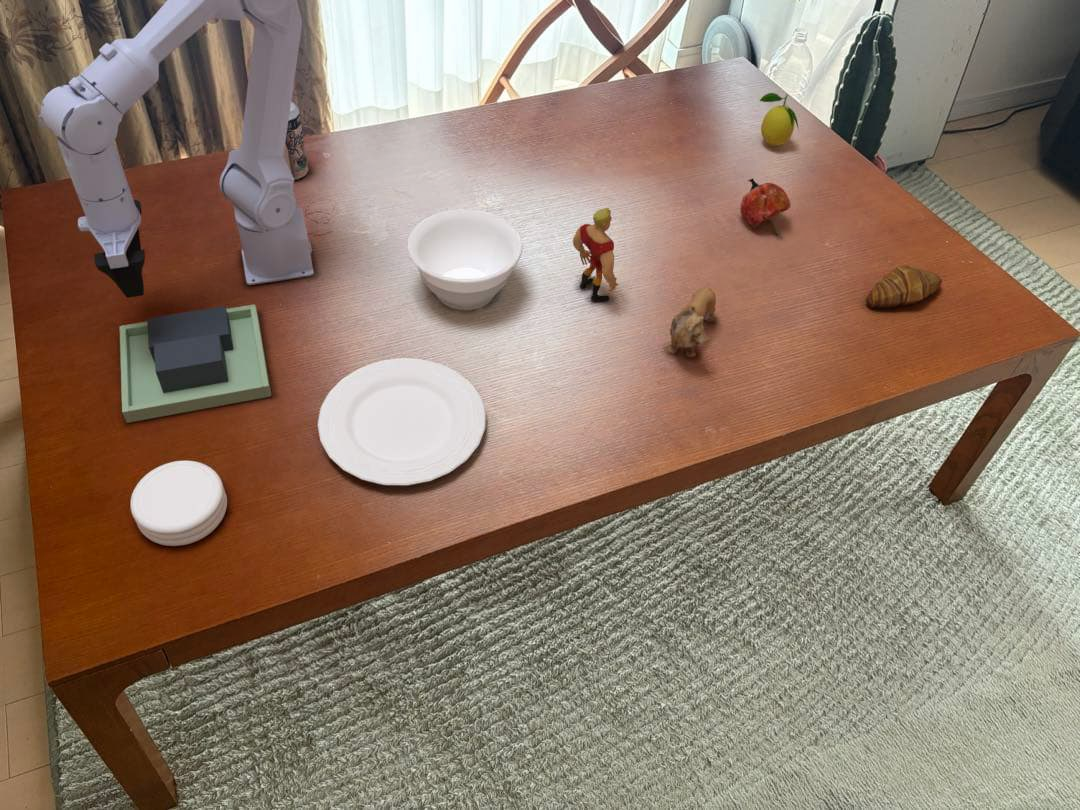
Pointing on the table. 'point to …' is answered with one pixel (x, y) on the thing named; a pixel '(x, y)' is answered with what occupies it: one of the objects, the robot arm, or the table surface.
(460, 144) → the table surface
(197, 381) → the loose pad
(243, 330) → the tray
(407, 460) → the plate
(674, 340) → the lion figurine
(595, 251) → the action figure
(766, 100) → the lemon
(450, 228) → the bowl
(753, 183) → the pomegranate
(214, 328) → the pad
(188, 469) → the white short cylinder
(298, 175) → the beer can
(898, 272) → the croissant
